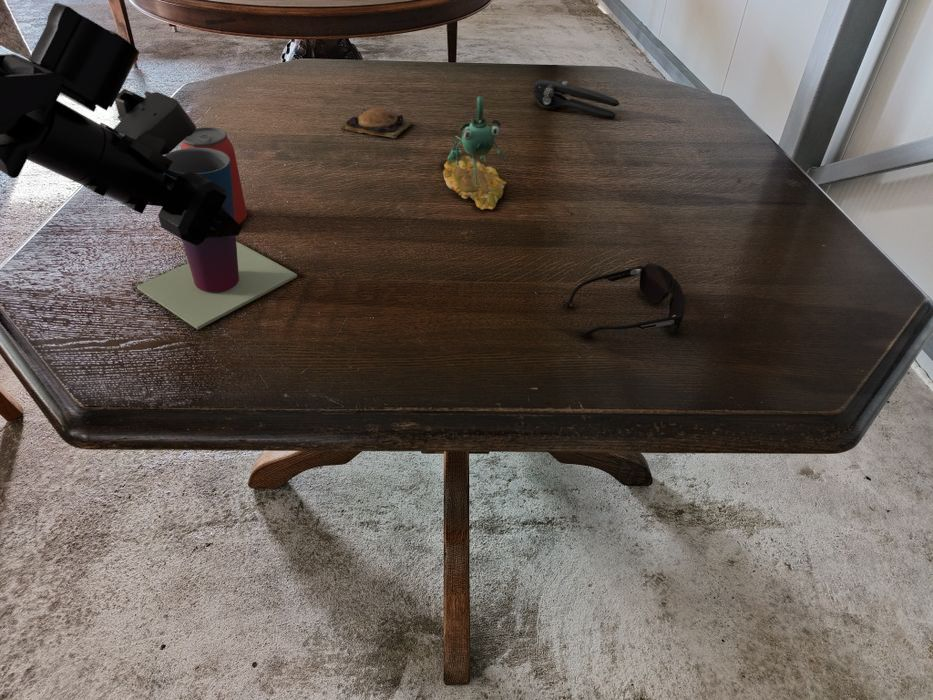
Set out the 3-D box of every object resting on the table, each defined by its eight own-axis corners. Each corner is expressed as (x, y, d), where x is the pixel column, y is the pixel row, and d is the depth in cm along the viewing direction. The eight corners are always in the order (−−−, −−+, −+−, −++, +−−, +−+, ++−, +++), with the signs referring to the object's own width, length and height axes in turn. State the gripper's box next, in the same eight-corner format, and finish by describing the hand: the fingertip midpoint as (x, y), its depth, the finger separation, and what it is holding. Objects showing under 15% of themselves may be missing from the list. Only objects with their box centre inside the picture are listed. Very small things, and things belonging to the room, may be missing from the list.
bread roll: (413, 125, 118) (413, 105, 116) (394, 140, 112) (393, 119, 109) (363, 115, 120) (362, 96, 118) (341, 130, 114) (340, 109, 112)
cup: (223, 259, 79) (204, 142, 69) (258, 281, 76) (243, 162, 66) (174, 279, 74) (146, 158, 65) (209, 303, 71) (185, 179, 62)
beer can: (202, 235, 84) (180, 148, 76) (194, 213, 88) (172, 129, 81) (252, 225, 86) (235, 140, 79) (242, 205, 91) (225, 122, 83)
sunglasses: (691, 339, 71) (698, 303, 67) (591, 360, 69) (593, 325, 66) (651, 286, 79) (656, 253, 75) (560, 305, 77) (561, 271, 74)
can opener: (526, 109, 127) (529, 80, 123) (536, 99, 132) (539, 71, 128) (612, 125, 122) (618, 95, 118) (619, 114, 127) (625, 85, 123)
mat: (197, 330, 68) (196, 327, 68) (137, 288, 74) (136, 286, 74) (297, 277, 77) (297, 274, 77) (236, 243, 83) (236, 241, 82)
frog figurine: (488, 159, 107) (498, 72, 96) (517, 220, 95) (532, 128, 84) (433, 162, 105) (437, 73, 94) (455, 224, 93) (463, 130, 82)
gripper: (184, 97, 53) (301, 179, 67) (72, 52, 61) (197, 133, 75) (124, 214, 53) (253, 271, 67) (20, 152, 61) (155, 215, 75)
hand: (214, 217), depth 71 cm, fingers open, 9 cm apart
